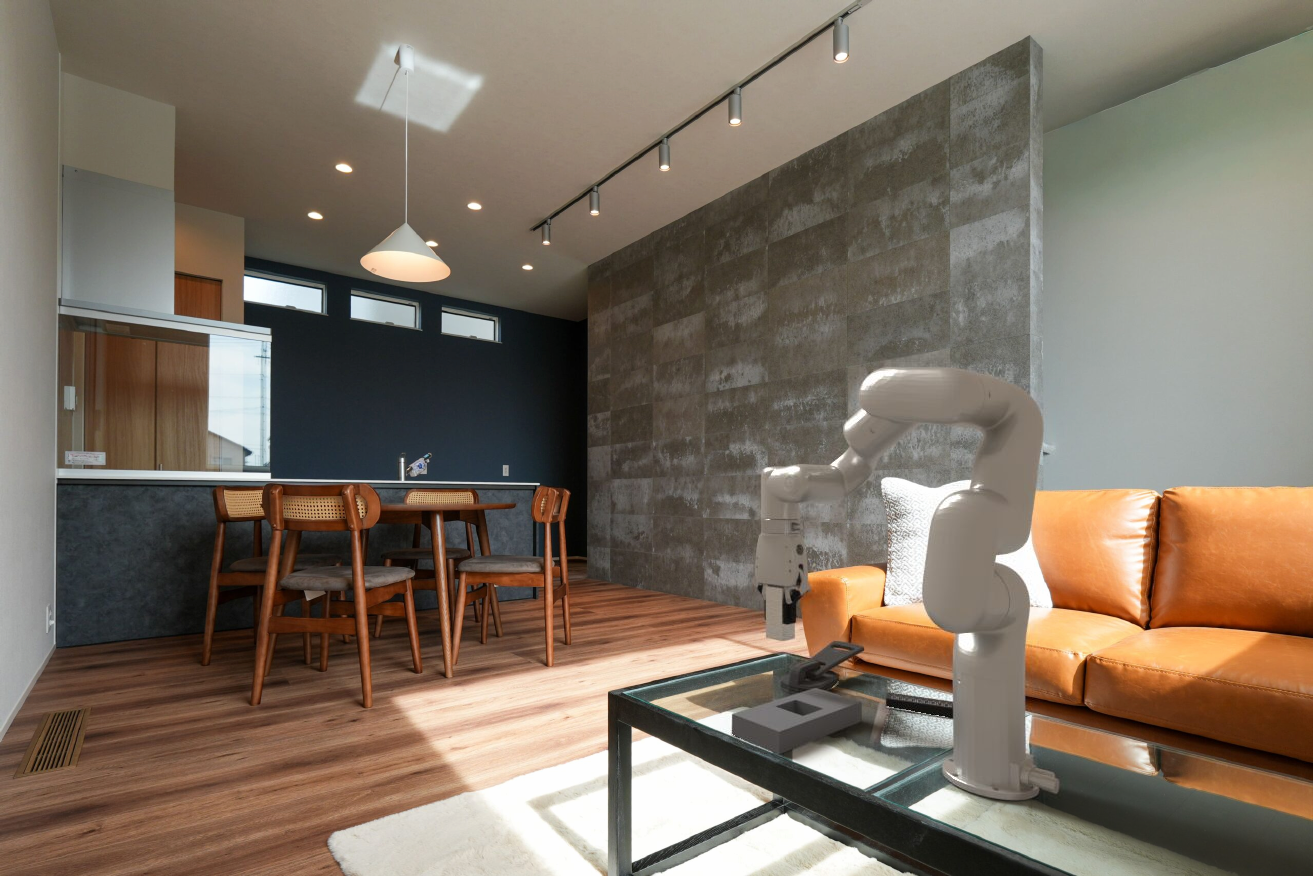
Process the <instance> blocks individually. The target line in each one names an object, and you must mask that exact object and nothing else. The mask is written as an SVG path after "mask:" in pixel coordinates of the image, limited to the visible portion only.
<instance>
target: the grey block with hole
mask: <svg viewBox="0 0 1313 876" xmlns="http://www.w3.org/2000/svg"><path fill="white" fill-rule="evenodd" d="M862 708H863V703H862V701H861V700H859V699H853V698H850V697H847V696H844V695H841V694H838V693H833V692H831V691H824V690H821V689H818V688H814V689H810V690H807V691H804V692H801V693H798V694H791V695H788V696H785V697H781V698H779V699H775V700H773V701H770V702H766V703H763V704H759V705H756V706H753V707H750V708H747V709H744V710H741V711H736V712H733V713H732V714H731V735H732V734H733V735H735V736H738V737H739V738H738V739H740V738H741V739H740V740H742V739H743V740H742V741H745V742H747V741H748V742H747V743H749V744H752V745H754V744H755V746H757V747H759V746H760V748H762V749H764V748H765V750H767V751H769V750H770V751H769V752H771V753H774V754H776V753H777V755H781V754H784V753H787V752H788V751H791V750H793V749H796V748H799V747H802V746H803V745H806V744H808V743H809V744H810V743H812V742H813V741H817V740H819V739H821V738H823V737H826V736H829V735H831V734H834V733H836V732H838V731H842V730H844V729H847V728H849V727H851V726H855V725H857V724H859V723H861V722H862V721H863V720H862V719H863V715H862V713H863V711H862V710H863V709H862ZM735 736H734V737H735Z"/></svg>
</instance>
